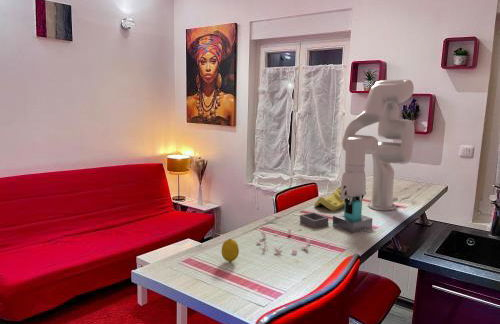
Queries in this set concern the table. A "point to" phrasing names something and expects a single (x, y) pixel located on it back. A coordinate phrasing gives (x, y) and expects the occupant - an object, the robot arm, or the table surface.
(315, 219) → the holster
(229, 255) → the lemon
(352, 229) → the port
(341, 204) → the plastic component
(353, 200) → the plug
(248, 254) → the table surface
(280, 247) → the game piece set
